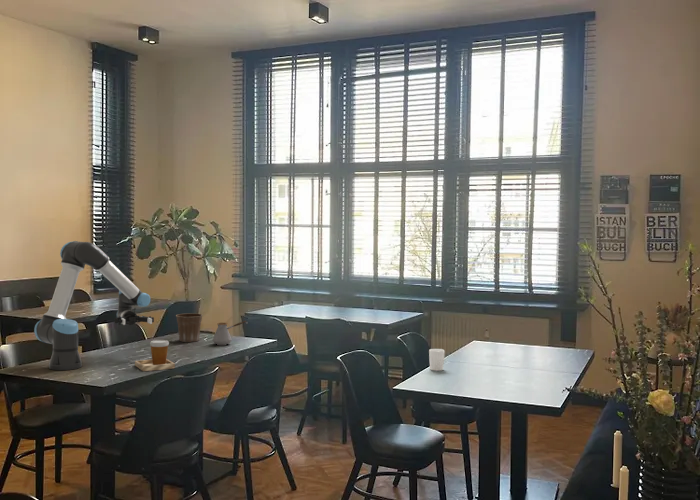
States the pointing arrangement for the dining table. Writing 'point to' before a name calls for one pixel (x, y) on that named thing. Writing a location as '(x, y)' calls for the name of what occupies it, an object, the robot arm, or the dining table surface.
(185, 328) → the plant pot
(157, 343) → the disposable coffee cup
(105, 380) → the dining table surface
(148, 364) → the oak tray
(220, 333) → the coffee pot
